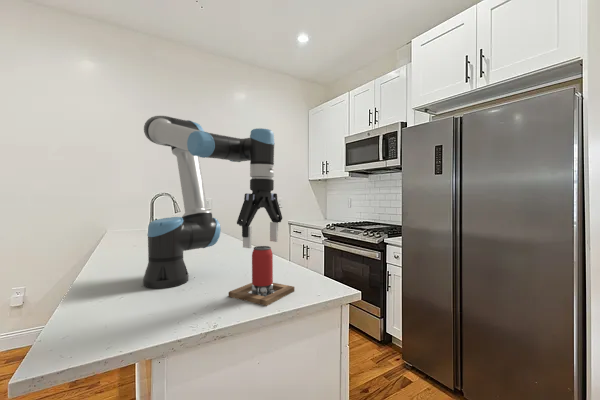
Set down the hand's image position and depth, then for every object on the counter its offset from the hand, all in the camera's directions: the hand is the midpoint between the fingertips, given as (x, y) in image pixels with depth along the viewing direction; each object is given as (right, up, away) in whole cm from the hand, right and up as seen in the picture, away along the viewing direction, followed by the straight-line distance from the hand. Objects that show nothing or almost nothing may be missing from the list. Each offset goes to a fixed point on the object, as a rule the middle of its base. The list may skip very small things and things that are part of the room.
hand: (261, 244), depth 95 cm
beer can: (0, -13, 0) cm, 13 cm away
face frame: (0, -16, 0) cm, 16 cm away
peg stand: (0, -16, 0) cm, 16 cm away
